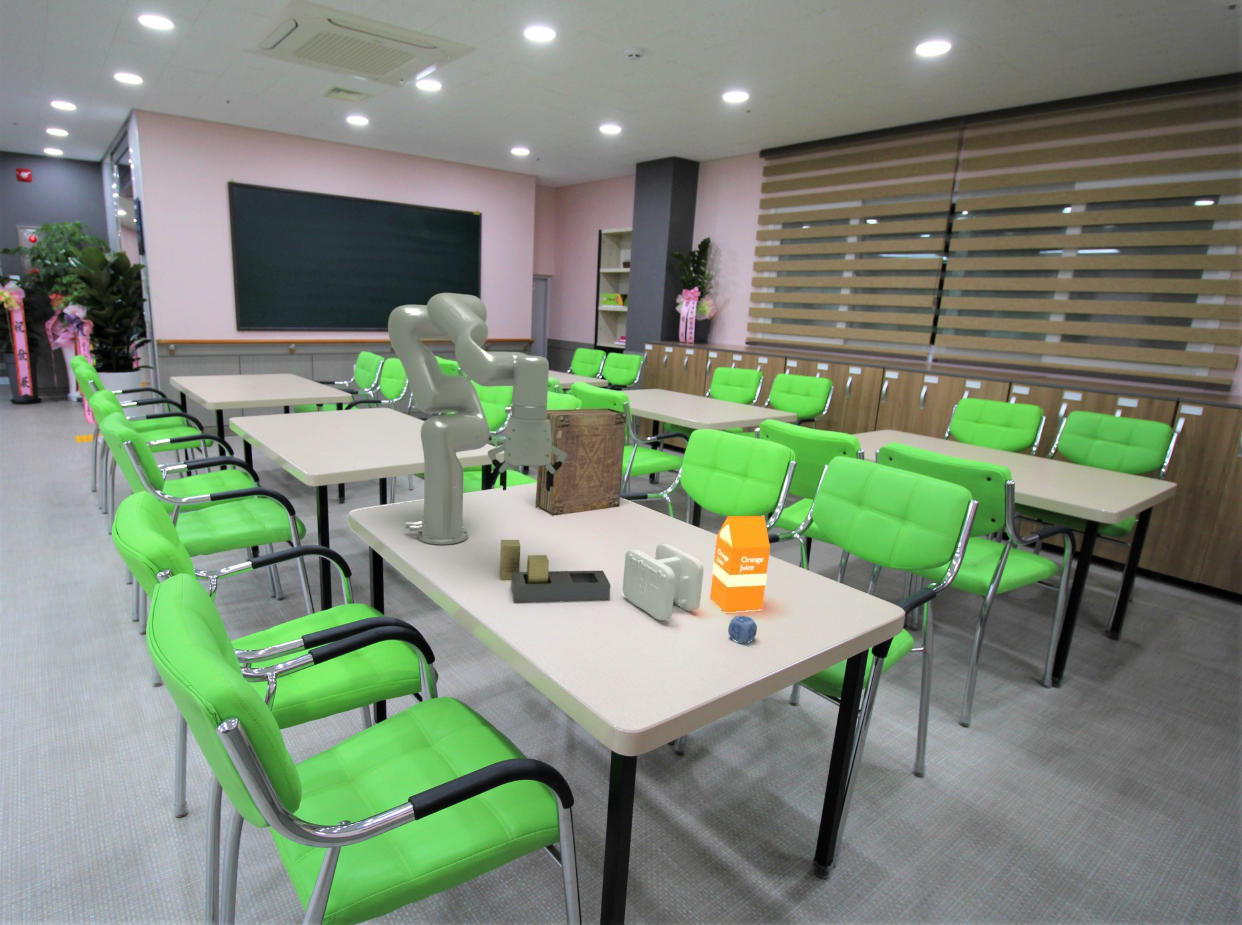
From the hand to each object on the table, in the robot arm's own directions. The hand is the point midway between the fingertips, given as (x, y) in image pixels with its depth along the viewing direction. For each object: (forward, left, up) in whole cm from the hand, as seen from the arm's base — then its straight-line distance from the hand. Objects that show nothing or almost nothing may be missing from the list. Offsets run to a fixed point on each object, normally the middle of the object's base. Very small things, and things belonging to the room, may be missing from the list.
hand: (526, 489), depth 150 cm
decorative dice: (+39, -35, -20) cm, 56 cm away
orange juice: (+44, -20, -20) cm, 52 cm away
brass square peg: (-3, -2, -20) cm, 20 cm away
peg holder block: (+7, -12, -20) cm, 24 cm away
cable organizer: (+27, -20, -20) cm, 39 cm away
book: (+22, +53, -20) cm, 60 cm away
